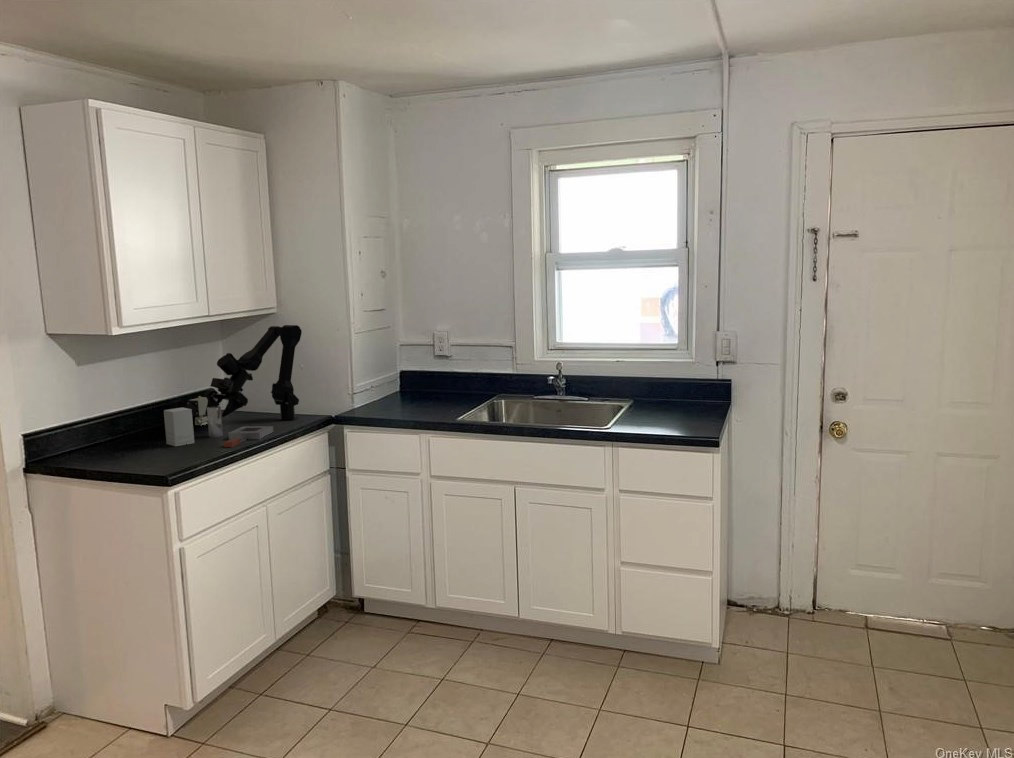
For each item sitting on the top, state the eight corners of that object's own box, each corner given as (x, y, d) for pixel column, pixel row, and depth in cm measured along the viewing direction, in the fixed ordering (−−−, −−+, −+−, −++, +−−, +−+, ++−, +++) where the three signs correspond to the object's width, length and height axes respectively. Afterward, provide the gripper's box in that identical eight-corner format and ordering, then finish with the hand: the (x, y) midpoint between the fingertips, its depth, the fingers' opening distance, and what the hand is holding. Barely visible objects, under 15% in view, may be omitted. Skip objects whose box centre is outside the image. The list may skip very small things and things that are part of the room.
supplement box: (195, 443, 285) (192, 408, 283) (175, 446, 279) (172, 412, 278) (185, 440, 290) (183, 406, 288) (165, 444, 284) (162, 409, 283)
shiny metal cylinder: (213, 434, 299) (210, 406, 298) (225, 434, 299) (222, 406, 297) (206, 437, 294) (204, 408, 293) (219, 437, 294) (216, 408, 292)
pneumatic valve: (216, 422, 324) (213, 393, 322) (196, 428, 313) (194, 398, 311) (205, 422, 325) (202, 393, 324) (185, 427, 314) (182, 398, 313)
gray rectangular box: (243, 432, 301) (242, 426, 301) (273, 432, 300) (272, 426, 300) (211, 447, 277) (211, 440, 277) (244, 447, 275) (243, 440, 275)
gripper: (206, 368, 302) (184, 401, 294) (239, 370, 293) (217, 404, 285) (224, 386, 310) (203, 418, 302) (257, 388, 301) (236, 422, 293)
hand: (214, 415), depth 295 cm, fingers open, 9 cm apart
